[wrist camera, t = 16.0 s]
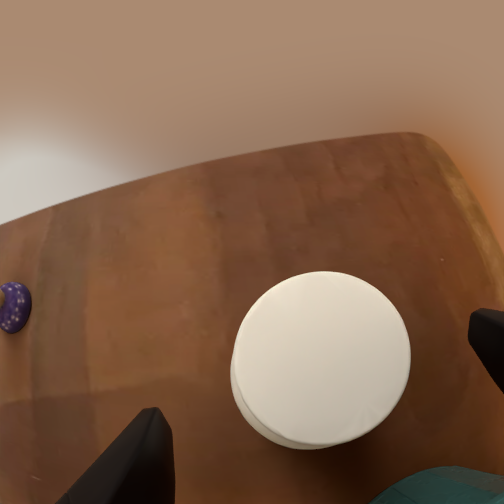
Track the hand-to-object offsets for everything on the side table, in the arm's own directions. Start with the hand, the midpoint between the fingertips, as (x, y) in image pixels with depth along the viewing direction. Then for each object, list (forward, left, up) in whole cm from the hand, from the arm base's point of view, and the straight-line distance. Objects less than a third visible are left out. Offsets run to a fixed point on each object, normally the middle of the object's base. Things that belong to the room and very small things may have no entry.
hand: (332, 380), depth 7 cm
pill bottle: (+1, 0, -10) cm, 10 cm away
